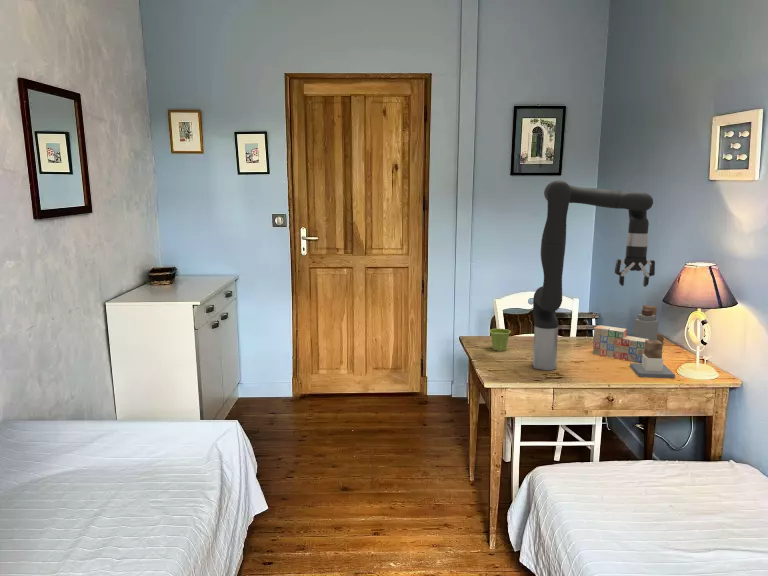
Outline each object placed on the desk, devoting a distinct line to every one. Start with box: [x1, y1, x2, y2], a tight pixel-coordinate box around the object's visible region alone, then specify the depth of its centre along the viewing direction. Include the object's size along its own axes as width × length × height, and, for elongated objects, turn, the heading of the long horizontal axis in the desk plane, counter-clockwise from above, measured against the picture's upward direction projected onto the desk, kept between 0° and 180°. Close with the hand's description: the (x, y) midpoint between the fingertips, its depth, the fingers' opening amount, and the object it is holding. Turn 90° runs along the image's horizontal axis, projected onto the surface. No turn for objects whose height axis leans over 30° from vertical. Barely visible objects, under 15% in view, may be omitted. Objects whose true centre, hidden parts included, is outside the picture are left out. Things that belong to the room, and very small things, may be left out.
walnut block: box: [644, 340, 664, 359], centre depth 224 cm, size 5×5×6 cm
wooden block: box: [642, 304, 665, 344], centre depth 265 cm, size 9×4×18 cm, turn 95°
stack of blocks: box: [592, 324, 649, 364], centre depth 245 cm, size 21×6×12 cm, turn 49°
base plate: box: [629, 354, 676, 379], centre depth 225 cm, size 13×13×6 cm
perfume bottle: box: [633, 309, 659, 340], centre depth 256 cm, size 7×7×18 cm
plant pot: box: [489, 328, 511, 352], centre depth 259 cm, size 9×9×9 cm
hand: (633, 285), depth 224 cm, fingers open, 8 cm apart
